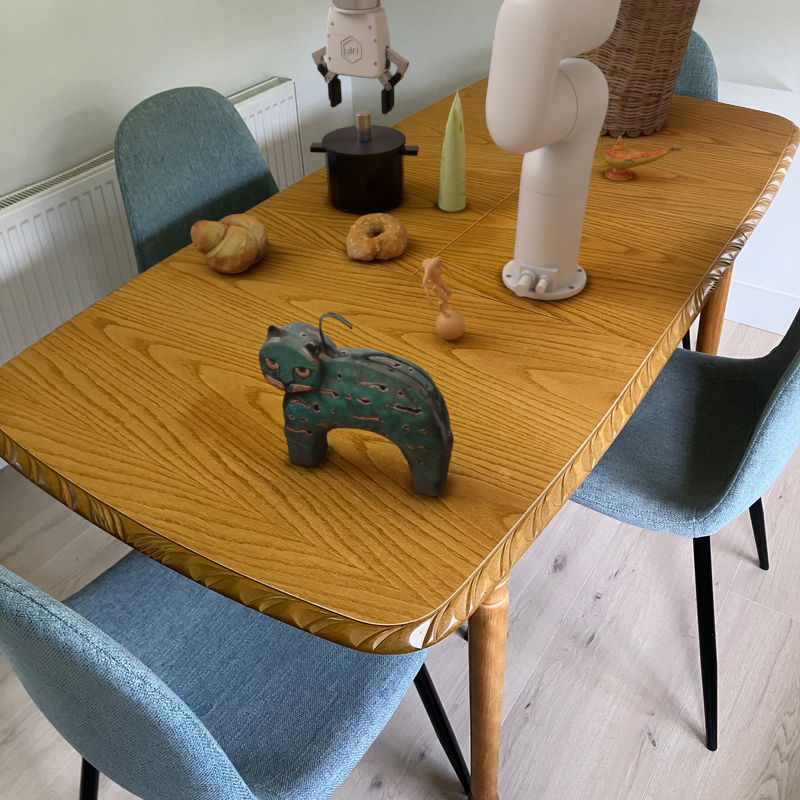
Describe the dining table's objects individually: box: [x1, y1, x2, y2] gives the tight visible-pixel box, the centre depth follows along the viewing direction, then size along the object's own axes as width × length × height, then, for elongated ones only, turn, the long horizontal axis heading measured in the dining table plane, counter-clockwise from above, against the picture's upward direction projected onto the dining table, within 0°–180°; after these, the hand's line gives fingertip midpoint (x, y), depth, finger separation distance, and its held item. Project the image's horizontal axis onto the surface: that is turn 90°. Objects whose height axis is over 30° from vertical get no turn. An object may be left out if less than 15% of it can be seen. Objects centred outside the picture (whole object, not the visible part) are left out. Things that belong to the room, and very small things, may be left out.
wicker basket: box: [569, 0, 701, 138], centre depth 163 cm, size 35×35×33 cm
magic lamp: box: [595, 135, 683, 181], centre depth 145 cm, size 7×18×11 cm, turn 64°
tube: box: [437, 88, 467, 213], centre depth 133 cm, size 6×5×20 cm
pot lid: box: [321, 110, 407, 158], centre depth 134 cm, size 15×15×6 cm
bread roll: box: [190, 213, 270, 274], centre depth 122 cm, size 13×10×8 cm
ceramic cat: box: [258, 311, 455, 497], centre depth 79 cm, size 20×6×20 cm, turn 69°
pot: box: [309, 141, 420, 216], centre depth 139 cm, size 14×19×10 cm
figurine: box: [421, 255, 466, 341], centre depth 102 cm, size 8×6×12 cm
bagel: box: [345, 213, 409, 262], centre depth 125 cm, size 10×11×5 cm
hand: (361, 108), depth 132 cm, fingers open, 9 cm apart
